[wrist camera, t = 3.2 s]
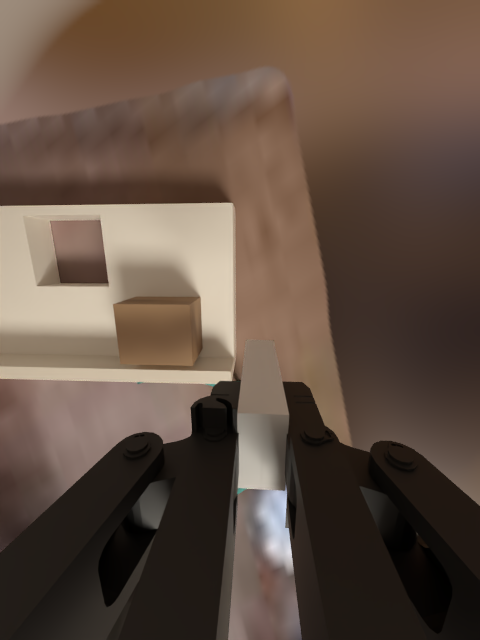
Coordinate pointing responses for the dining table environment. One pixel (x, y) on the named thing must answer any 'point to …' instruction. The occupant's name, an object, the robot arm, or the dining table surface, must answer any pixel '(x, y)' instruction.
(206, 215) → the box
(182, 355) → the block
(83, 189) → the dining table surface
